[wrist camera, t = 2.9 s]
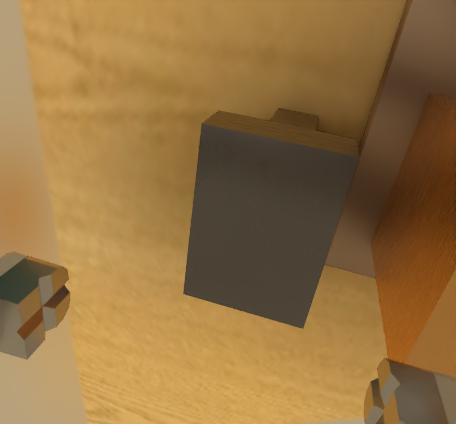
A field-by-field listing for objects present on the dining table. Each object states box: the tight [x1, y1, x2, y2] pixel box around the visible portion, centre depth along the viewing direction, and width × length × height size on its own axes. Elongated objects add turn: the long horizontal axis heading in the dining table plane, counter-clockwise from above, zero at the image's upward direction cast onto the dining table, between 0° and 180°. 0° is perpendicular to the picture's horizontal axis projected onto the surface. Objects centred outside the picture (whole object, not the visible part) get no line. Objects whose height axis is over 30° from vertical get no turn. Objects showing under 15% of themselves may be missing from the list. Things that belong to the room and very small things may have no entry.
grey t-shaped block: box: [183, 108, 360, 329], centre depth 18 cm, size 7×5×12 cm
